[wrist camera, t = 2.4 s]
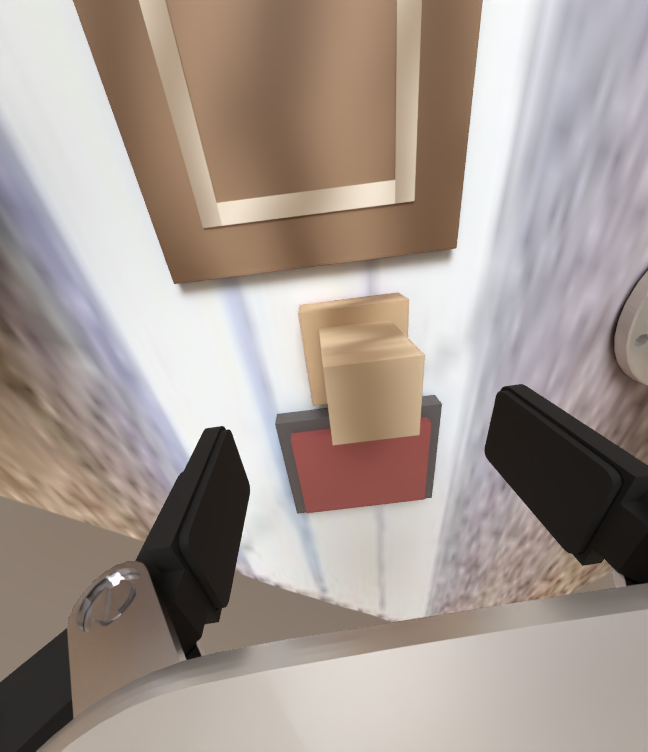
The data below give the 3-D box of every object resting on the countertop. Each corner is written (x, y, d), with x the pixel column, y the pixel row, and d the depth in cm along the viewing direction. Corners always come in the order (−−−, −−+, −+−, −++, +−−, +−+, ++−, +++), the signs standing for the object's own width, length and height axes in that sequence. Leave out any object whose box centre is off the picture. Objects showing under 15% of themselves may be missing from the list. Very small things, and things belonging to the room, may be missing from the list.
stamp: (395, 291, 17) (453, 327, 10) (394, 376, 19) (439, 448, 13) (299, 303, 17) (293, 346, 10) (312, 386, 19) (313, 463, 13)
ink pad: (435, 395, 20) (446, 410, 18) (426, 486, 25) (435, 505, 23) (277, 414, 20) (273, 431, 19) (297, 501, 25) (296, 521, 23)
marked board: (508, -333, 8) (524, -380, 8) (451, 247, 16) (457, 248, 15) (-9, -257, 8) (-35, -297, 8) (178, 282, 16) (173, 284, 15)
